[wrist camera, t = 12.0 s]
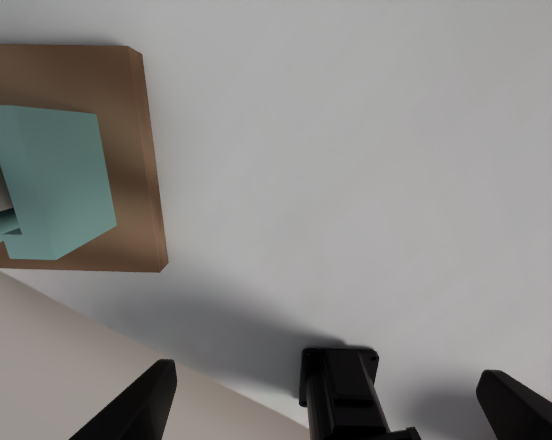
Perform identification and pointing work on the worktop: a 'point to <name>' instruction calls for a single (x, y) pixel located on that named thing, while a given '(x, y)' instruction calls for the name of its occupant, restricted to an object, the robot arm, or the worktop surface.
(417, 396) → the worktop surface
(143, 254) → the board
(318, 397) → the robot arm
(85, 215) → the collar
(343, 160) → the worktop surface
